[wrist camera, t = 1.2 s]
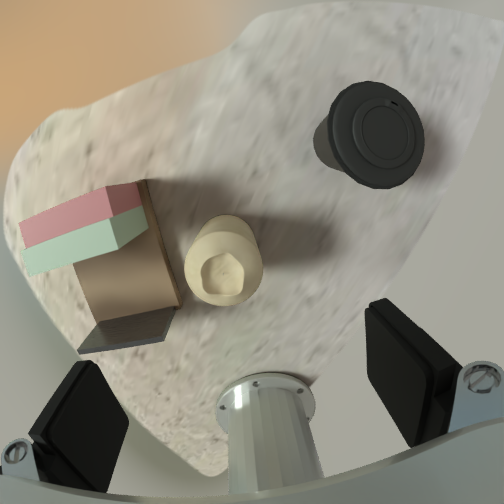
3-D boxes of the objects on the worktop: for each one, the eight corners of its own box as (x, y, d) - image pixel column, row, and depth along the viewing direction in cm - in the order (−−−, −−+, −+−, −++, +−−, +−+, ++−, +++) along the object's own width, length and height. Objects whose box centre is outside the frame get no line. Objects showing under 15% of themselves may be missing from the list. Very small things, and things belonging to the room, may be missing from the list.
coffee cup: (366, 101, 26) (419, 77, 17) (381, 177, 28) (439, 183, 19) (291, 108, 26) (319, 78, 17) (307, 190, 28) (344, 199, 19)
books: (148, 227, 27) (118, 249, 19) (72, 251, 27) (29, 276, 19) (136, 182, 26) (100, 187, 18) (60, 210, 26) (13, 224, 18)
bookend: (175, 310, 29) (164, 341, 23) (101, 325, 29) (79, 354, 23) (174, 305, 29) (162, 336, 23) (99, 321, 29) (76, 350, 23)
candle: (266, 246, 30) (282, 282, 20) (222, 280, 30) (219, 329, 21) (229, 202, 28) (227, 217, 19) (186, 239, 29) (164, 271, 19)
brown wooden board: (182, 302, 31) (180, 308, 29) (102, 319, 31) (97, 325, 29) (145, 179, 27) (140, 179, 26) (63, 209, 27) (56, 211, 26)
